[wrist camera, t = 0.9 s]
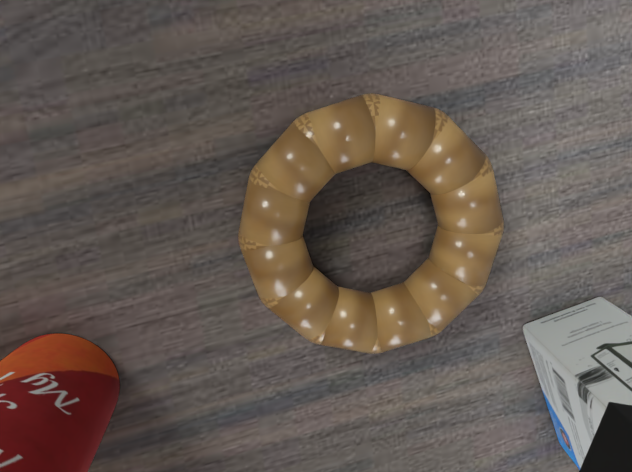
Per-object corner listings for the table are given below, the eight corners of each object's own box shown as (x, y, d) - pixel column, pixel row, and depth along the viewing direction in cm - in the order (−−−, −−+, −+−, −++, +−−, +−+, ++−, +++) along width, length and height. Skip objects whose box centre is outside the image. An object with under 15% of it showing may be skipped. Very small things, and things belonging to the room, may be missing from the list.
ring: (270, 70, 23) (267, 66, 20) (518, 128, 25) (549, 132, 22) (224, 311, 26) (217, 338, 23) (447, 351, 28) (465, 380, 25)
